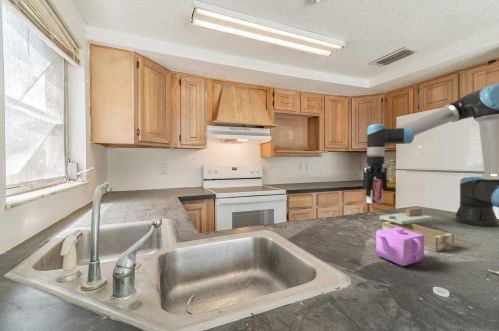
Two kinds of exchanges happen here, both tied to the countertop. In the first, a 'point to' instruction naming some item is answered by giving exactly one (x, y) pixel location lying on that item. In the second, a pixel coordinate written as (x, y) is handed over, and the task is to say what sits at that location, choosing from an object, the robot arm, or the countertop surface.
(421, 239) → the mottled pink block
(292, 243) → the countertop surface
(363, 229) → the countertop surface
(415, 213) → the cover
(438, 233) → the trough
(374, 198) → the beverage can
